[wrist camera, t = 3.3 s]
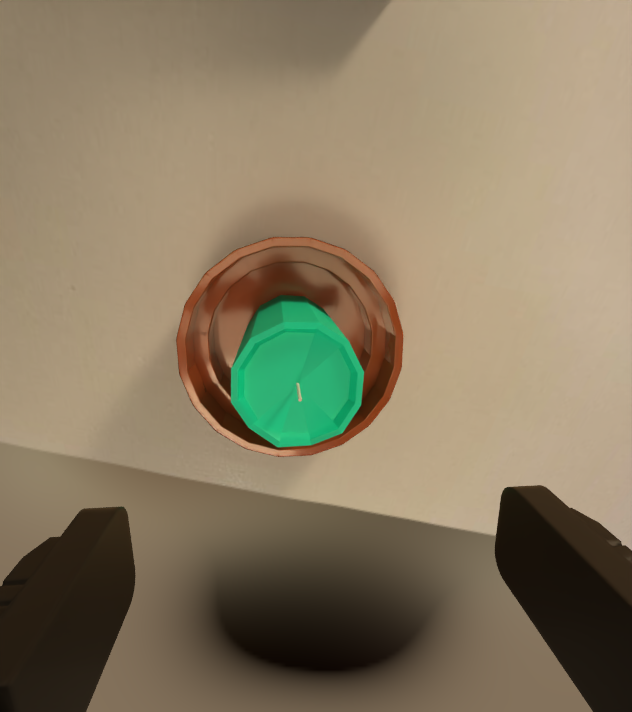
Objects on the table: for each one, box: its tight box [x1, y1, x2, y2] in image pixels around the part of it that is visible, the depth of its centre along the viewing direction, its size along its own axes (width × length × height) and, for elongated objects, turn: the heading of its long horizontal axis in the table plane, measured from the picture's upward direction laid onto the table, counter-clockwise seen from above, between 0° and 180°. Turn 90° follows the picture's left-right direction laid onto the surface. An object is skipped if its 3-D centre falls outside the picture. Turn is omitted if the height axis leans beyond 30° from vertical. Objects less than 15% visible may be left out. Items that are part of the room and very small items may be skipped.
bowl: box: [176, 237, 403, 457], centre depth 26 cm, size 13×13×5 cm
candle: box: [231, 295, 364, 447], centre depth 22 cm, size 6×6×12 cm
